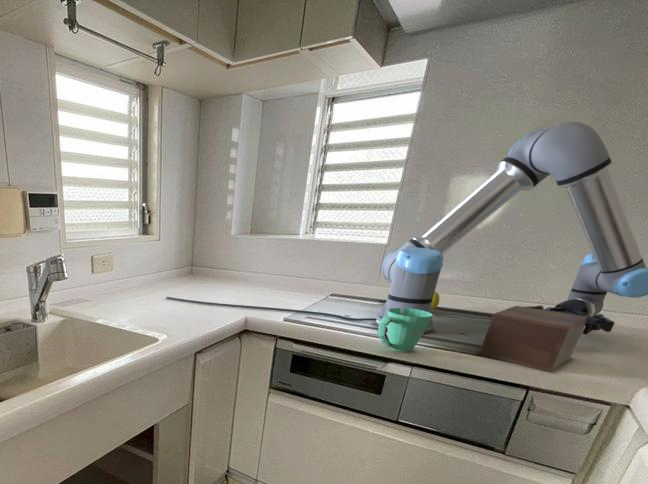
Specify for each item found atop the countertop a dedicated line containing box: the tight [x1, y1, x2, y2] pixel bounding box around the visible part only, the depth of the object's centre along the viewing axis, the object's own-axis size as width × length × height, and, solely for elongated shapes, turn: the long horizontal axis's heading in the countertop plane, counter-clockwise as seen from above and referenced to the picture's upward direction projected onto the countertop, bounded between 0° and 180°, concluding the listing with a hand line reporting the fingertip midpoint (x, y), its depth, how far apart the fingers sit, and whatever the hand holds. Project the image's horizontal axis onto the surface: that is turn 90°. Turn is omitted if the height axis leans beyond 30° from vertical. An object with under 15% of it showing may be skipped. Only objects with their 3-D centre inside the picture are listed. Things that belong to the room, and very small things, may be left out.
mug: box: [376, 308, 434, 353], centre depth 104 cm, size 15×10×10 cm
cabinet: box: [478, 305, 588, 372], centre depth 99 cm, size 16×14×11 cm
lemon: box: [431, 290, 440, 311], centre depth 144 cm, size 6×6×8 cm
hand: (550, 322), depth 105 cm, fingers open, 13 cm apart
